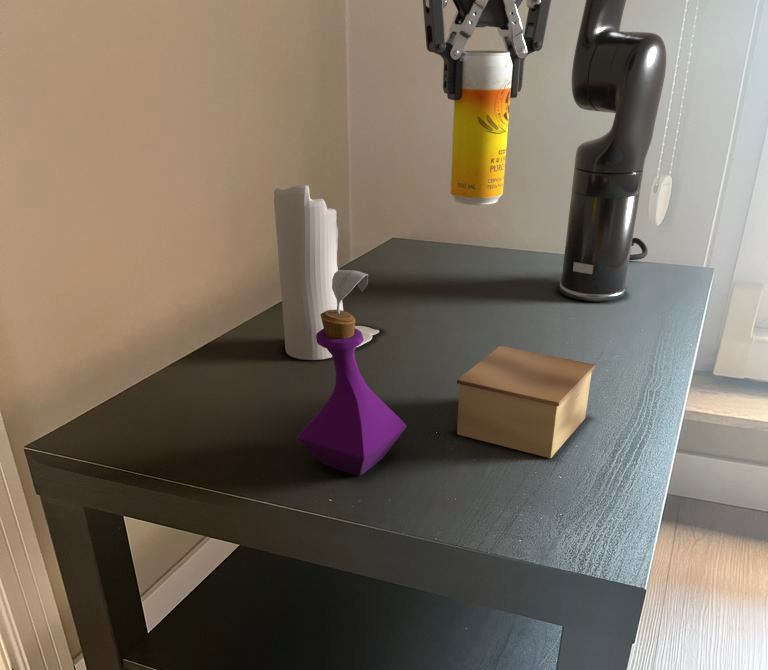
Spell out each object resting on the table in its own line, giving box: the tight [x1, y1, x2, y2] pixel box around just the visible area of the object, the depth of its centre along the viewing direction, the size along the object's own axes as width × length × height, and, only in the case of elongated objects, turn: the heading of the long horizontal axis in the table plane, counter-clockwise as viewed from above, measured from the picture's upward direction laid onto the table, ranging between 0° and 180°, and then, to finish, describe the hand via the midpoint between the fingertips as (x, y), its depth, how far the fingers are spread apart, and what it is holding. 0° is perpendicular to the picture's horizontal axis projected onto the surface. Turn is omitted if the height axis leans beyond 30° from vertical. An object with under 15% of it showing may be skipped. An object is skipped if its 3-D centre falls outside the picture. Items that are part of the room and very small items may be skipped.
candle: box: [273, 184, 380, 361], centre depth 97 cm, size 7×14×20 cm, turn 137°
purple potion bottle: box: [296, 269, 407, 477], centre depth 71 cm, size 8×8×18 cm
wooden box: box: [456, 345, 596, 459], centre depth 81 cm, size 10×10×6 cm
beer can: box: [449, 50, 513, 206], centre depth 89 cm, size 6×6×15 cm
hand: (481, 97), depth 87 cm, fingers closed on beer can, 6 cm apart
